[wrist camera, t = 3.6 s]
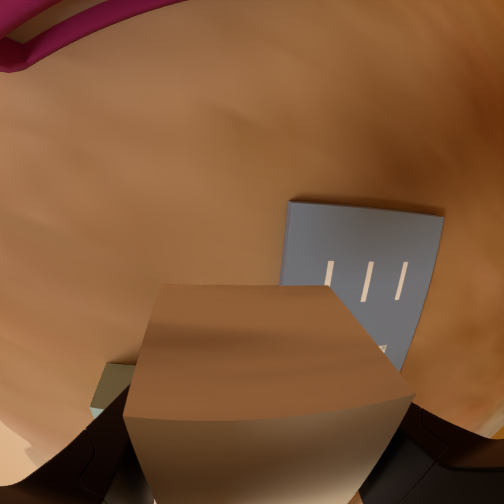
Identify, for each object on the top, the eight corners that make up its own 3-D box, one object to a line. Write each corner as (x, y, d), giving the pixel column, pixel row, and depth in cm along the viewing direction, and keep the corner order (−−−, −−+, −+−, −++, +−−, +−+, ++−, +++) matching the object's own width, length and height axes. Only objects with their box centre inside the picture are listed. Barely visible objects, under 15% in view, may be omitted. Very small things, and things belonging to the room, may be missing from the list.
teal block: (174, 410, 23) (171, 456, 18) (118, 405, 22) (107, 449, 17) (169, 366, 21) (163, 415, 16) (106, 362, 20) (89, 407, 16)
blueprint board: (376, 411, 26) (379, 416, 25) (260, 427, 24) (262, 434, 24) (437, 215, 20) (444, 217, 19) (288, 200, 18) (291, 202, 18)
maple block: (303, 400, 11) (344, 507, 6) (172, 405, 10) (166, 523, 5) (328, 285, 9) (415, 393, 5) (160, 284, 9) (122, 415, 4)
